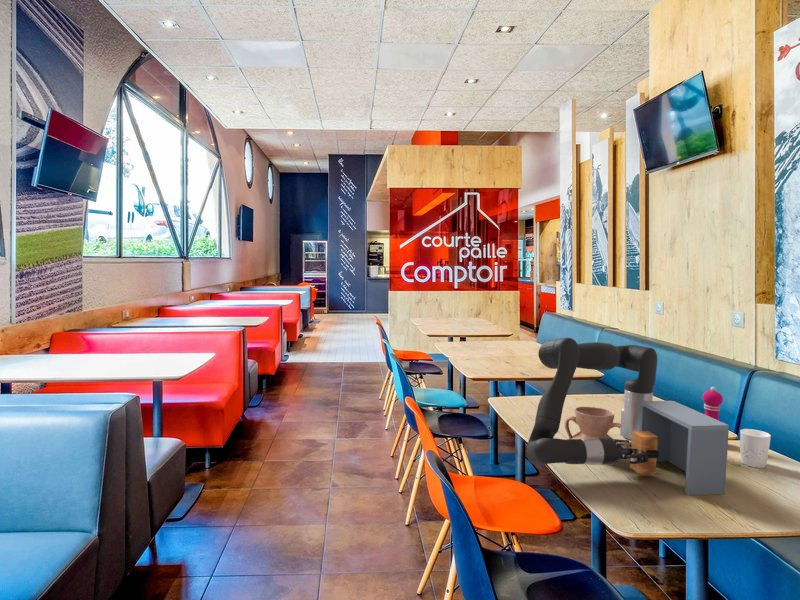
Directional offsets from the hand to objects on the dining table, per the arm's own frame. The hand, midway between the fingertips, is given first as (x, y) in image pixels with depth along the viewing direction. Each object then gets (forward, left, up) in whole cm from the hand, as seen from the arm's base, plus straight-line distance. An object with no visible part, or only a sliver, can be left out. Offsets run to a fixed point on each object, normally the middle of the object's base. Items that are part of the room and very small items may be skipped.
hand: (651, 450), depth 150 cm
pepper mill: (-12, +45, -8) cm, 47 cm away
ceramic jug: (-22, -1, -8) cm, 23 cm away
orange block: (-1, -2, -6) cm, 7 cm away
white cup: (+6, +39, -8) cm, 40 cm away
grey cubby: (+3, +8, -8) cm, 11 cm away
